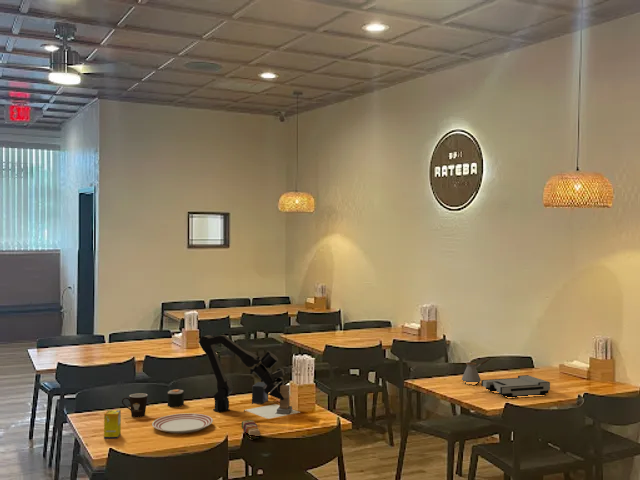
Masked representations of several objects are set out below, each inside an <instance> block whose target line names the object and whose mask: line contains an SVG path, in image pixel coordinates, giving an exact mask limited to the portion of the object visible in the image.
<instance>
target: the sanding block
mask: <svg viewBox="0 0 640 480" xmlns="http://www.w3.org/2000/svg"><path fill="white" fill-rule="evenodd" d="M290 386H291V385H290V384H283V385H281V386H280V393H281V395H282V396H283V398H284V400H281V399H279V405H280V407H279V408H278V409H277V414H289V413H290V412H291V411H292V410H293V406H292V405H290V398H291V397H290V392H291V391H290V389H291V388H290Z"/></svg>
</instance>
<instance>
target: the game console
mask: <svg viewBox="0 0 640 480" xmlns="http://www.w3.org/2000/svg"><path fill="white" fill-rule="evenodd" d="M480 382H481V387H484V388H485V389H486V390H487V389H488V390H487V391H489V390H490V391H497V392H499V393H498V395H500V396H502V395H503V396H507V397H517V396H528V395H547V394H549V391H551V382H550V381H547V380H544V379H541V378H537V377H534V376H532V375H529V374H528V375H527V374H525V375H517V377H509V378H507V377H506V378H495V379H493V378H492V379H481V381H480ZM490 391H489V392H490ZM503 396H502V397H503Z"/></svg>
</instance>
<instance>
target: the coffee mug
mask: <svg viewBox="0 0 640 480" xmlns="http://www.w3.org/2000/svg"><path fill="white" fill-rule="evenodd" d="M124 400H128V401H129V406H130V407H129V406H127V405H126V404H125V402H124ZM121 404H122V405H123V406H124V407H125V408H126V409H127V410H130V413H131V418H142V417H145V416H146V409H147V404H148V394H147V393H142V392H141V393H139V392H138V393H132V394H129V397H124V398H122V400H121Z"/></svg>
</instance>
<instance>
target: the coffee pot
mask: <svg viewBox="0 0 640 480" xmlns="http://www.w3.org/2000/svg"><path fill="white" fill-rule="evenodd" d="M489 361H493V360H492V358H491V357H490V358H488V359H486V360H484V361H482V362H480V363H479V364H477V362H472V361H471V362H470V361H469V362H465V364H466V368H465V370H464V372H463V375H462V377H461V381H462V380H463V381H466V382H479V383H480V382H481V380H482V379H481V377H480V375H479V372H478V369H477V368H479V367H481V366H482V365H484V364H486V363H487V362H489ZM463 381H462V382H463Z"/></svg>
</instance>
